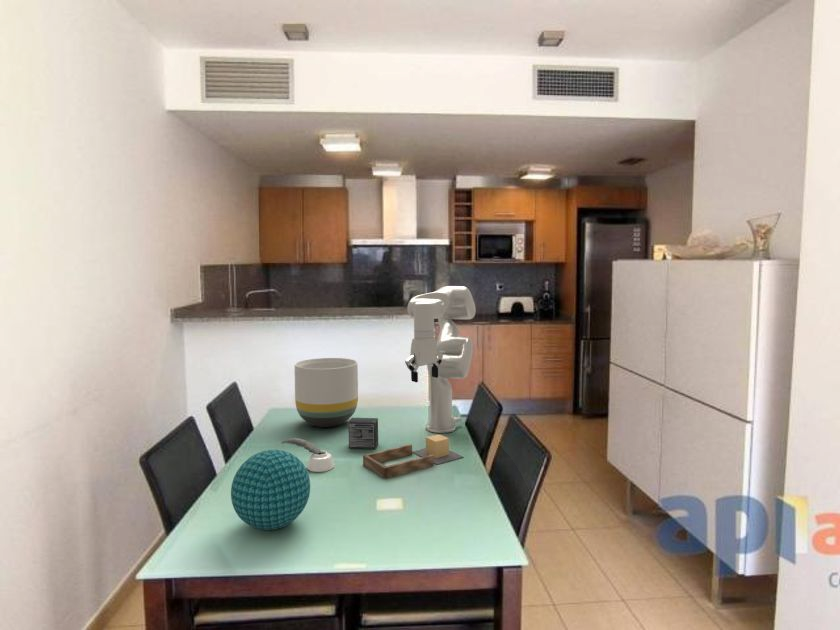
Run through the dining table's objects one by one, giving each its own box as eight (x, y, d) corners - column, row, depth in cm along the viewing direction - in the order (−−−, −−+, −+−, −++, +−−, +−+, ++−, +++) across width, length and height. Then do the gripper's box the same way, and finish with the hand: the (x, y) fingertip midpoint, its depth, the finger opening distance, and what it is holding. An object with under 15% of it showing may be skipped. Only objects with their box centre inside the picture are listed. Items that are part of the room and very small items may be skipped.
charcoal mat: (437, 446, 200) (437, 445, 199) (463, 457, 187) (463, 456, 187) (412, 452, 193) (412, 451, 193) (436, 464, 180) (436, 463, 180)
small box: (379, 443, 202) (378, 417, 201) (375, 449, 196) (375, 422, 195) (352, 443, 203) (351, 416, 202) (348, 448, 197) (347, 421, 196)
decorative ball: (293, 548, 127) (291, 468, 125) (216, 541, 130) (213, 463, 128) (321, 510, 147) (320, 441, 145) (254, 505, 150) (252, 437, 148)
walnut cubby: (410, 453, 192) (410, 444, 191) (433, 465, 180) (433, 455, 180) (363, 465, 180) (363, 455, 180) (385, 478, 169) (384, 468, 168)
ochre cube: (438, 449, 194) (439, 434, 194) (449, 454, 189) (449, 438, 189) (425, 453, 191) (425, 437, 190) (435, 458, 186) (435, 441, 185)
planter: (308, 414, 243) (307, 357, 240) (364, 416, 239) (364, 358, 237) (285, 432, 216) (284, 368, 214) (348, 435, 213) (348, 369, 210)
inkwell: (332, 472, 174) (331, 443, 173) (278, 472, 174) (277, 443, 173) (336, 462, 183) (335, 434, 183) (284, 462, 183) (284, 434, 182)
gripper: (435, 330, 203) (436, 373, 205) (399, 336, 192) (400, 381, 195) (448, 333, 197) (448, 377, 199) (411, 338, 187) (412, 385, 189)
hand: (424, 379), depth 197 cm, fingers open, 9 cm apart
